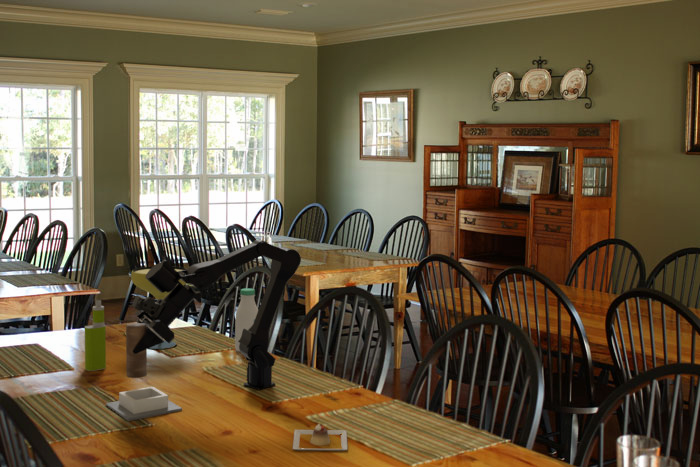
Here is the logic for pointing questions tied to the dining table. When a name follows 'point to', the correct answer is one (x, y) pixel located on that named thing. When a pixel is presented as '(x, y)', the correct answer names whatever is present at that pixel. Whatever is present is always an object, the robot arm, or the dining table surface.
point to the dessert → (320, 438)
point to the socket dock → (142, 404)
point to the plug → (137, 362)
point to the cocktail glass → (144, 284)
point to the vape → (96, 340)
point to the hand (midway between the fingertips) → (131, 350)
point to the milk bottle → (245, 314)
